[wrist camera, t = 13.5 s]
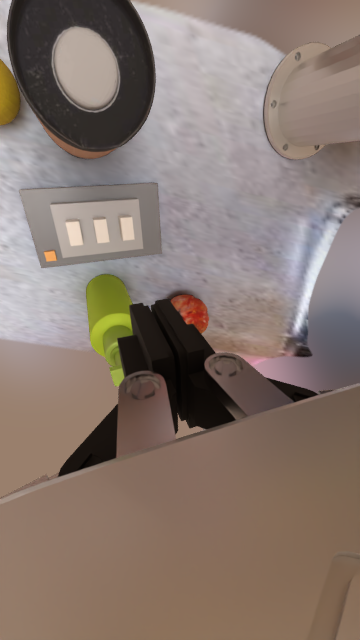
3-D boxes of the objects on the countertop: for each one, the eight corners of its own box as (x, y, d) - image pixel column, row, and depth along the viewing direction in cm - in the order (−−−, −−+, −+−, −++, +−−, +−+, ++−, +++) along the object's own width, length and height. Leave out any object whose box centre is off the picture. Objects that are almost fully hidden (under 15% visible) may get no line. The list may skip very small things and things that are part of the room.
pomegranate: (199, 295, 49) (185, 276, 40) (221, 328, 47) (212, 316, 38) (166, 318, 50) (144, 305, 41) (186, 351, 48) (168, 346, 39)
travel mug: (69, 58, 28) (61, -103, 12) (128, 122, 32) (184, 71, 16) (29, 122, 29) (-30, 60, 13) (90, 175, 34) (106, 181, 17)
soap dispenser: (135, 303, 43) (173, 385, 27) (92, 314, 42) (103, 408, 25) (128, 268, 40) (165, 337, 24) (80, 279, 39) (85, 360, 22)
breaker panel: (153, 182, 36) (165, 184, 31) (158, 250, 41) (169, 260, 36) (21, 189, 32) (12, 192, 27) (42, 263, 36) (38, 277, 32)
